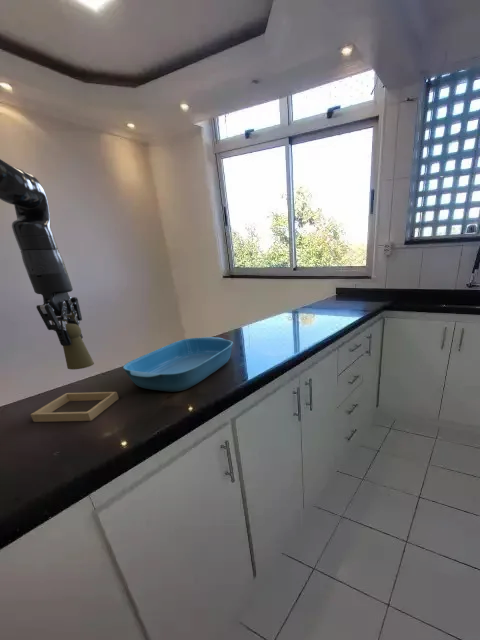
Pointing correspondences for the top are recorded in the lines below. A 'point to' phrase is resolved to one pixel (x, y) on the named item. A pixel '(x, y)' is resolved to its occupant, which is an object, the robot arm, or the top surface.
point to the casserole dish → (179, 364)
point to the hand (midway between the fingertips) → (72, 341)
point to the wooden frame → (48, 415)
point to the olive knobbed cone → (76, 349)
